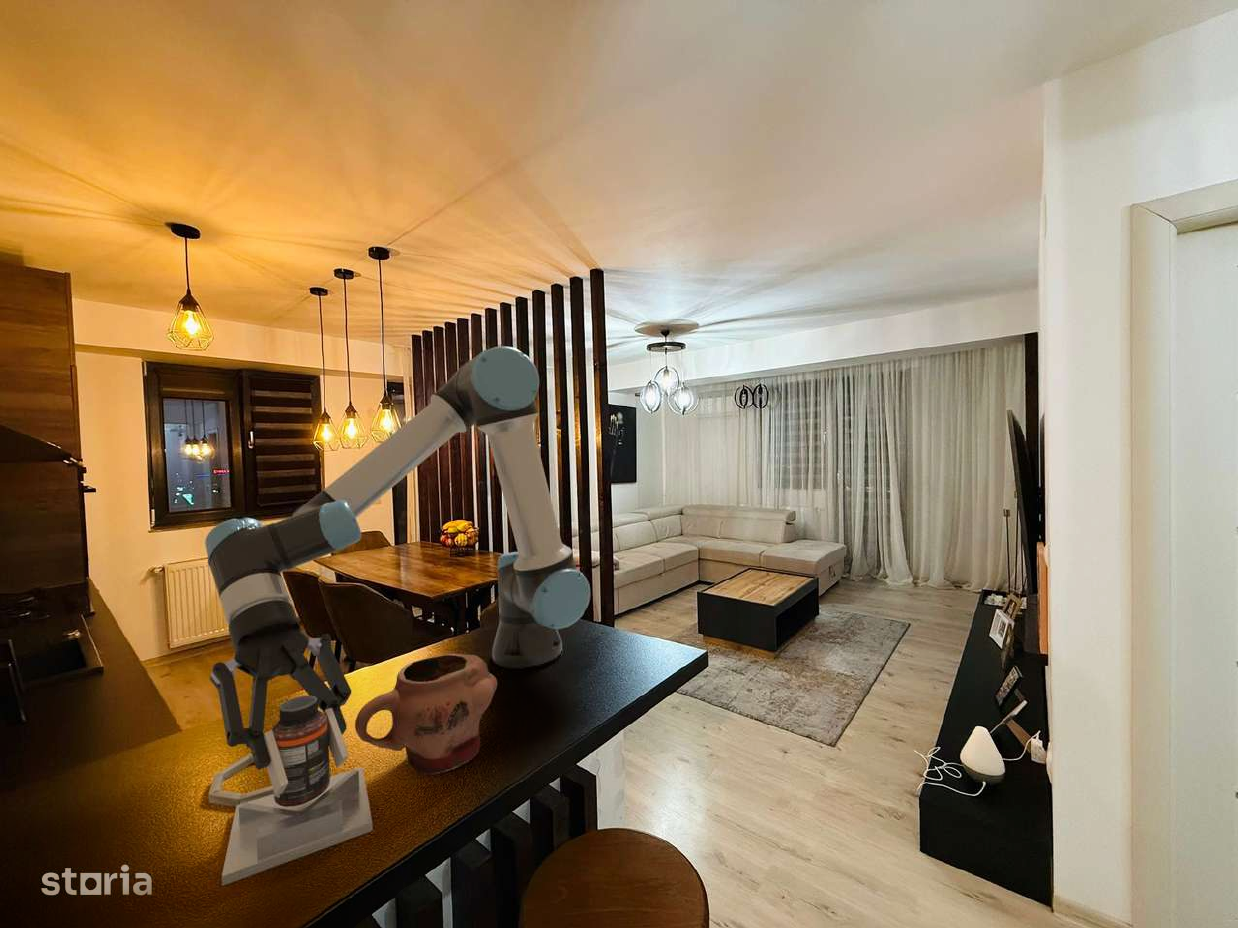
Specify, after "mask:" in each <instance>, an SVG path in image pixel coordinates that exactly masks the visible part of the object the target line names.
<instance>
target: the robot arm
mask: <svg viewBox="0 0 1238 928" xmlns="http://www.w3.org/2000/svg"><path fill="white" fill-rule="evenodd" d="M539 387H540V376H539V372H538V369H537V367H536V365H535V364H534V362H533V361H532V360H531V358H529V356H528V355H527V354H526V353H523V352H522V351H520V350H519V349H517V348H514V347H512V346H502V345H501V346H495V347H492V348H488V349H485V350H482V351H481V352H480V353H478V354H477V355H476V356H475V357H473V358H472V359H470V360H468V361H467V362H465V363H464V364H463V365H461V367H460V368H458V370H457V371H456V372H455V373H454V374H453V375H452V376H451V378H450V379H448V381H447V382H446V383H444V385H443V386H441V387H440V388H439V389H438V390H437V391H436V392H435V393H433V394H432V395H431V396H430V403H429V404H428V405H427V406H426V407H425V408H423V409H422V410H421V411H419V412H417V414H416V415H415V416H413V417H411V419H409V420H408V421H407V422H405V423H404V424H403V425H402V426H401V427H400V428H398V429H397V430H395V432H393V433H391V435H389V436H388V437H387V438H386V439H385V440H383V441H382V442H381V443H379V444H378V445H377V446H375V448H373V449H372V450H370V452H369V453H367V454H366V455H365V456H363V458H361V459H359V460H358V461H357V462H356V463H355V464H354V465H352V466H351V467H350V468H349V469H348V470H346V471H344V473H343V474H341V475H340V476H339V477H338V478H336V479H335V480H334V481H332V482H331V483H330V484H329V485H327V486H326V487H325V488H324V489H323V490H322V491H321V492H320V493H318V494H316V495H315V496H314V497H313V498H312V499H310V500H309V501H308V502H306V503H305V504H302V505H301V506H300V507H298V508H297V509H296V510H294V512H293V513H292V515H291V516H290V517H287V518H284V519H281V520H278V521H277V522H272V523H269V524H266V525H263V524H262V522H261V521H259V520H258V519H254V518H251V517H243V518H240V519H237V518H232V519H229V520H225V521H223V522H221V523H219V524H217V525H216V526H214V527H213V528H212V529H211V530H210V531H209V532H208V534H206V537H205V543H204V544H205V550H206V554H207V565H208V566H209V569H210V571H211V574H212V577H213V578H212V579H213V581H214V584H215V587H216V590H217V594H218V597H219V601H220V603H221V607H222V612H223V614H224V619H225V622H226V624H227V625H228V628H227V629H228V634H229V636H230V639H231V642H232V643H231V644H232V646H233V650H234V657H233V658H231V659H230V660H227V661H225V662H222V661H221V662H217V663H215V664H214V665H213V666H212V668H211V674H210V677H209V680H210V682H211V683H212V684H213V686H214V687H215V688H216V690H217V691H218V698H219V703H220V709H221V714H222V715H221V717H222V719H223V720H222V721H223V725H224V726H223V727H224V731H225V732H224V733H225V739H226V743H227V746H228V747H230V748H231V747H232V748H234V747H236V746H238V745H245V746H246V748H248V749H250V751H251V754H252V756H253V760H254V763H253V764H254V767H255V768H256V770H258V771H260V770H262V769H267V773H268V777H269V780H270V783H271V786H272V787H273V791H274V794H275V797H276V796H278V795H280V794H282V793H283V792H284V790H285V788H286V786H287V784H288V780H287V777H286V774H285V770H284V767H283V764H282V761H281V757H280V754H279V751H278V747H277V744H276V741H275V738H274V734H273V731H272V729H271V730H269V731H266V732H264V729H265V719H266V718H265V717H266V707H267V695H268V694H267V693H268V682H269V681H271V680H273V679H275V678H277V677H283V676H287V675H288V676H289V677H290V679H292V680H293V681H296V682H297V684H299V686H301V688H302V689H303V690H304V692H305V693H306V694H307V696H315V697H317V700H318V709H320V710H321V712H323V713H324V714H325V715H326V717H327V722H328V743H329V752H330V753H331V756H332V758H333V761H334V765H335V767H336V768H337V769H338V768H339V767H341V766H344V764H345V762H346V761H347V759H348V757H349V756H350V754H349V751H348V748H347V746H346V743H345V739H344V737H343V735H344V734H345V732H346V730H347V722H346V720H345V718H344V715H343V711H342V709H341V707H342V706H344V705H346V704H347V701H348V700H349V698H350V696H351V694H352V689H351V687H350V684H349V683H348V681H347V679H346V676H345V674H344V673H343V670H342V668H341V666H340V664H339V661H338V660H337V658H336V655H335V653H334V652H333V650H332V638H331V635H330V634H329V633H325V634H322V636H321V637H316V638H311V637H310V638H309V637H308V636H307V635H306V634H305V633H304V632H303V631H302V630H301V626H300V621H299V619H298V616H297V614H296V611H295V609H294V605H293V604H292V603H291V601H292V600H291V597H290V594H289V592H288V590H287V587H286V585H285V581H284V580H283V576H282V574H281V573H283V572H287V571H289V570H292V569H294V568H296V567H299V566H301V565H303V564H306V563H309V562H312V561H314V560H317V559H319V558H322V557H325V556H327V555H329V554H333V553H335V552H338V551H343V550H345V549H346V548H347V547H349V546H352V545H354V544H356V543H358V542H359V541H361V539H362V532H361V531H362V530H361V529H360V526H359V523H358V521H357V518H358V517H359V516H361V514H363V513H364V512H365V511H366V510H368V509H369V508H370V507H371V506H372V505H373V504H375V502H377V501H378V500H379V499H380V498H381V497H383V496H384V495H385V494H386V493H388V492H389V490H392V488H394V487H395V485H398V483H399V482H400V481H402V480H403V479H404V478H405V477H407V476H408V474H410V473H412V471H414V470H415V469H416V467H418V466H419V465H420V464H422V463H423V462H424V461H425V460H426V459H427V458H428V457H430V456H431V455H432V454H433V453H435V452H436V451H437V450H438V449H439V448H441V447H442V446H443V445H444V444H445V443H446V442H447V441H449V440H450V439H451V438H452V437H453V436H455V435H456V434H457V433H463V434H464V433H466V432H467V431H468V430H469V429H471V427H473V426H475V425H476V427H477V429H478V430H479V431H481V432H482V433H484V434H486V435H487V437H488V440H489V441H488V442H489V445H490V450H491V453H492V456H493V460H494V464H495V469H496V473H497V477H498V479H499V480H498V481H499V484H500V488H501V491H502V495H503V498H504V503H505V507H506V510H507V514H508V518H509V522H510V526H511V529H512V533H513V538H514V542H515V545H516V550H517V551H512V552H506V553H502V554H501V555H500V556H499V557H498V559H497V568H496V572H497V583H498V584H497V586H498V588H497V589H498V612H499V615H498V617H499V625H498V627H497V631H496V634H495V638H494V642H493V645H492V649H491V651H492V652H491V655H492V656H491V657H492V662H493V663H494V664H496V665H497V666H499V667H503V668H507V669H525V668H524V667H531V666H536V665H540V664H543V663H546V662H548V661H550V660H552V659H554V658H556V657H557V656H558V655H559V654H560V653H561V651H562V652H563V641H562V639H561V636H560V633H559V631H558V630H561V629H565V628H568V627H571V626H572V625H574V624H575V623H576V622H578V621H579V620H580V619H581V618H582V616H584V614H585V611H586V609H587V608H588V606H589V605H590V604H589V603H590V600H591V587H590V586H591V585H590V583H589V581H588V579H587V577H586V576H585V575H584V573H582V572H581V571H580V570H579V569H577V567H576V563H575V558H574V555H573V551H572V549H571V547H569V546H567V545H566V544H564V543H563V542H562V540H561V535H560V531H559V526H558V522H557V519H556V515H555V510H554V506H553V503H552V499H551V495H550V491H549V490H550V489H549V485H548V482H547V478H546V474H545V470H544V465H543V462H542V461H543V460H542V458H541V453H540V449H539V445H538V441H537V438H536V434H535V429H534V423H535V421H536V420H537V418H538V416H539V412H538V408H537V403H536V400H535V398H536V396H537V395H538V392H539V389H540V388H539ZM307 649H308V650H310V651H311V654H312V655H313V656H316V659H317V662H318V665H319V668H320V670H321V672H322V674H323V676H324V679H325V680H326V682H327V684H326V683H325V682H324V680H323V679H322V678H321V677H320V675H318V673H317V672H316V671H315V670H314V669H313V667H311V666H310V663H309V662H310V661H309V660H308V659H307V658H306V656H305V655H304V654H305V652H306V650H307ZM531 668H532V667H531ZM237 669H238V670H239V671H240V672H241V671H242V672H243V673H245V674H246V675H249V676H250V677H252V686H251V699H250V700H251V702H250V710H249V719H248V727H244V723H243V718H242V713H241V709H240V701H239V698H238V692H237V691H238V690H237V686H236V682H235V681H236V680H235V676H236V673H237Z"/></svg>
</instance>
